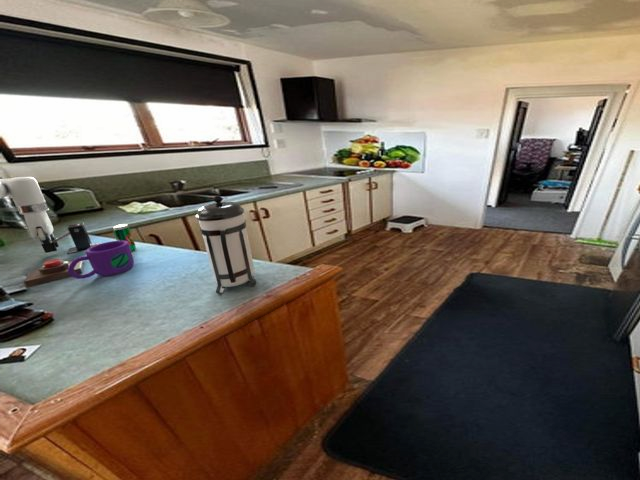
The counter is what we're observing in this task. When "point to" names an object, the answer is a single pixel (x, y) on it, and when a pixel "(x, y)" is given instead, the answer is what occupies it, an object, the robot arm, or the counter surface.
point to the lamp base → (52, 273)
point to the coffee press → (226, 243)
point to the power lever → (61, 237)
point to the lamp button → (52, 263)
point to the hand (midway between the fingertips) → (52, 249)
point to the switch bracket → (80, 238)
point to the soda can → (124, 235)
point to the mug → (105, 259)
